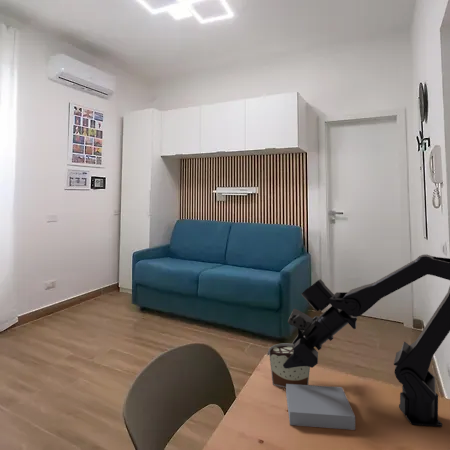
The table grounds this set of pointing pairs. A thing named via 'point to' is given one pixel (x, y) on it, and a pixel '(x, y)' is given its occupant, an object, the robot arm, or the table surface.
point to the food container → (286, 375)
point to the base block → (319, 407)
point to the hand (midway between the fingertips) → (286, 358)
